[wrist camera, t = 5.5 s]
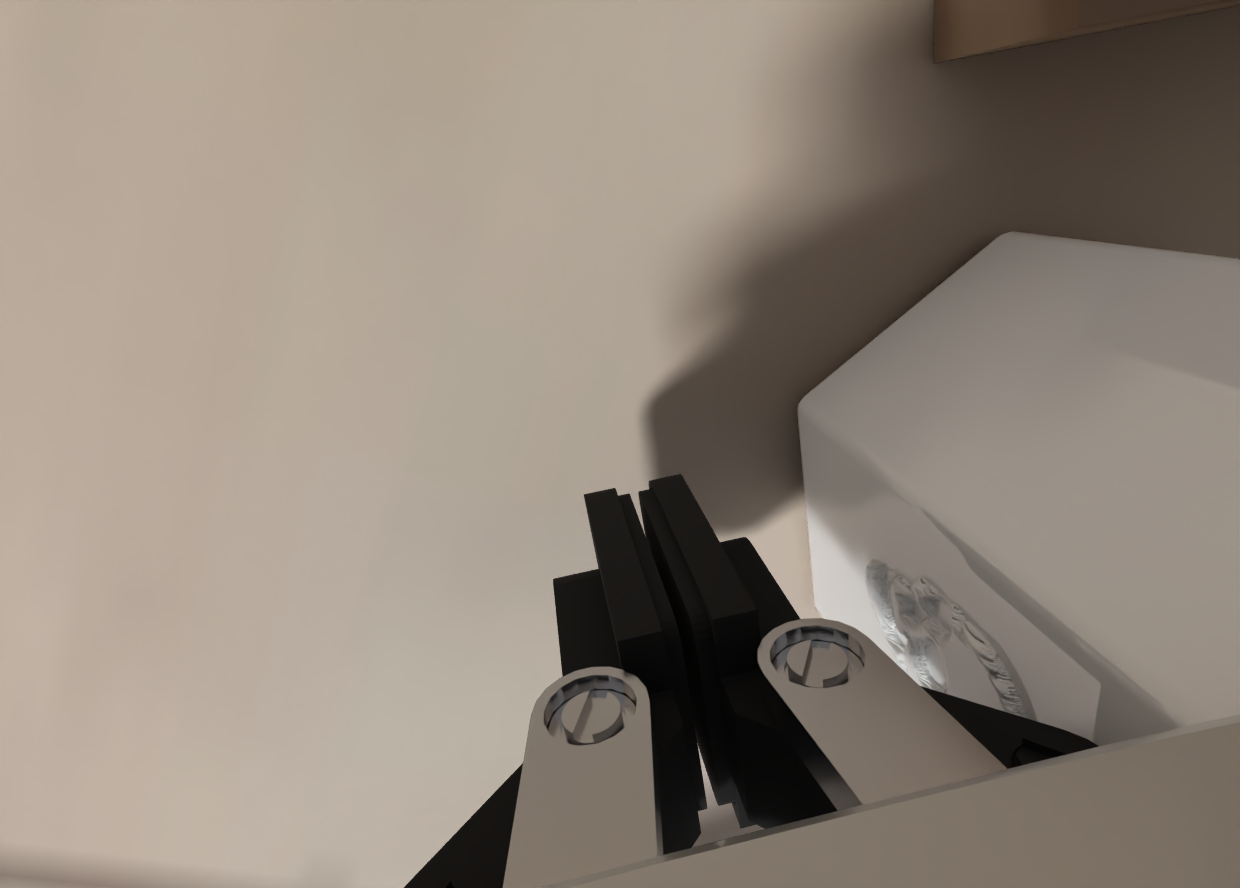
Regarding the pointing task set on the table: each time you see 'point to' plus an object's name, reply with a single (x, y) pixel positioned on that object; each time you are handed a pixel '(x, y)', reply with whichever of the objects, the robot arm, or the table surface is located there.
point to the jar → (1043, 486)
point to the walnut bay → (1043, 21)
